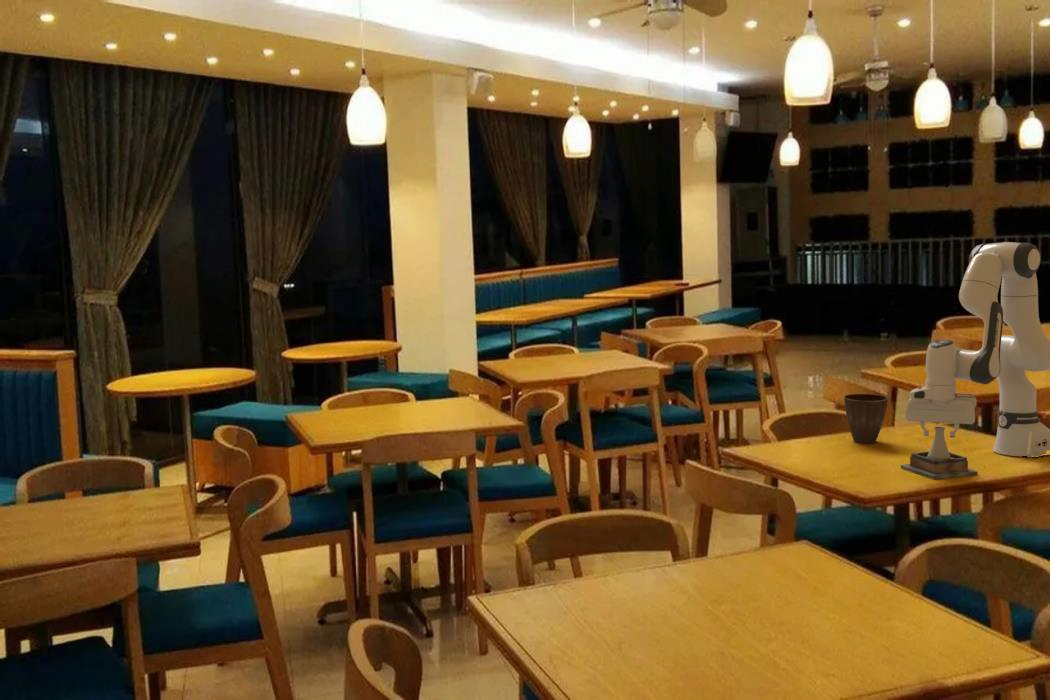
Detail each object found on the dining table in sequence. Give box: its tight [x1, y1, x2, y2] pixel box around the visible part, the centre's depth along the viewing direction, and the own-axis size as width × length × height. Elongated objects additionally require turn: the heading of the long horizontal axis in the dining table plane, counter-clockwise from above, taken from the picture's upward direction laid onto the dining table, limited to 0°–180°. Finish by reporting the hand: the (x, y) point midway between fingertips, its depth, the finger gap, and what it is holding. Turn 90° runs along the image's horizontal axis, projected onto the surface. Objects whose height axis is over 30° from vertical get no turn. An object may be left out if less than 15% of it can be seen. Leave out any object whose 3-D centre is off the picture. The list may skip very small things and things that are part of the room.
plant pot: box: [843, 393, 889, 444], centre depth 374 cm, size 15×15×16 cm
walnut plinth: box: [900, 451, 979, 480], centre depth 330 cm, size 16×16×5 cm
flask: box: [927, 425, 951, 460], centre depth 329 cm, size 7×7×10 cm
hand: (939, 436), depth 328 cm, fingers open, 6 cm apart
